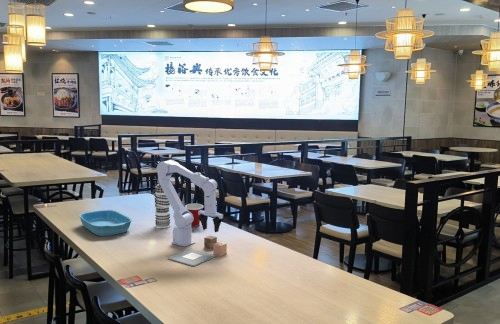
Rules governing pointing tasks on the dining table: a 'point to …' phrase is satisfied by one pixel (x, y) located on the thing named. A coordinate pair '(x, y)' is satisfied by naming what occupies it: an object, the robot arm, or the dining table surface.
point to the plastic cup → (194, 213)
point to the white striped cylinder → (161, 208)
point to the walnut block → (209, 241)
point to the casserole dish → (105, 222)
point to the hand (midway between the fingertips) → (210, 230)
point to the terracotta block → (219, 248)
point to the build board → (192, 257)
